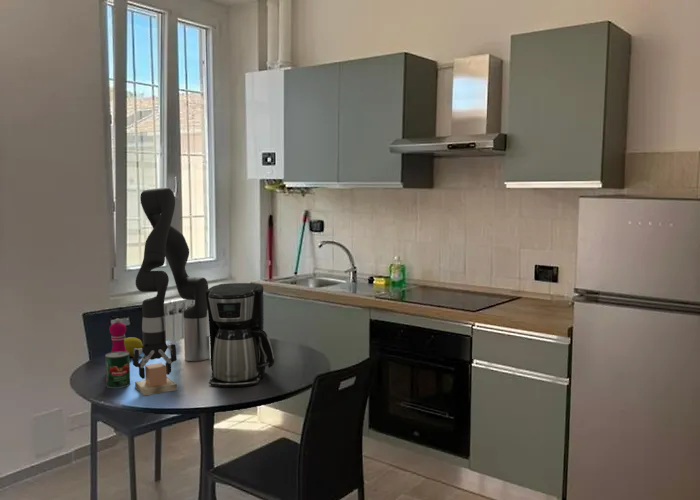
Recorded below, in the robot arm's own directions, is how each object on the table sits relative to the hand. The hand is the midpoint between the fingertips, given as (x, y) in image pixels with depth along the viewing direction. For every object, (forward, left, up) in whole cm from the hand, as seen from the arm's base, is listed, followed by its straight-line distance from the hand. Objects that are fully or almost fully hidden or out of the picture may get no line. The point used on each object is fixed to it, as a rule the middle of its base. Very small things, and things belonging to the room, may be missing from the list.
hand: (155, 376), depth 214 cm
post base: (0, 0, -4) cm, 4 cm away
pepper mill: (+5, -30, -5) cm, 31 cm away
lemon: (-4, -49, -5) cm, 49 cm away
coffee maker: (-32, +3, -5) cm, 32 cm away
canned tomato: (+10, -12, -5) cm, 16 cm away
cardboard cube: (0, 0, -2) cm, 2 cm away
